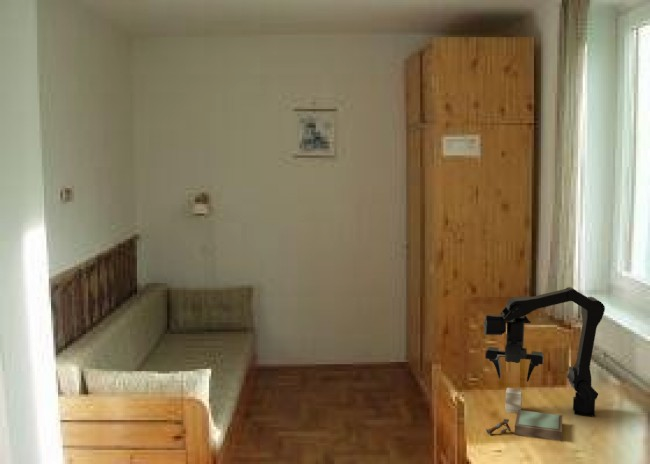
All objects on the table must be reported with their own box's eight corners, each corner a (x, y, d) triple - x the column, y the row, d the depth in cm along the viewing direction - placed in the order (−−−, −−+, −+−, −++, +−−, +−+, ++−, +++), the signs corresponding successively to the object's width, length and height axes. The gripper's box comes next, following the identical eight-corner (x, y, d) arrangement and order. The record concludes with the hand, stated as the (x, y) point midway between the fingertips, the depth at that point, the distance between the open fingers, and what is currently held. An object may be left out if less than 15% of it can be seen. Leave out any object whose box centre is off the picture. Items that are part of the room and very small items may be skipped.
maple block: (521, 408, 237) (522, 389, 236) (520, 414, 232) (521, 394, 232) (506, 407, 239) (507, 387, 238) (505, 412, 234) (505, 392, 233)
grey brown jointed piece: (514, 430, 217) (509, 418, 216) (493, 442, 216) (488, 430, 215) (511, 427, 219) (506, 416, 218) (490, 440, 217) (485, 428, 216)
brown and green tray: (562, 424, 224) (562, 414, 223) (561, 441, 211) (561, 430, 210) (517, 418, 228) (518, 409, 228) (514, 434, 215) (514, 424, 215)
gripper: (483, 338, 228) (482, 384, 229) (542, 344, 221) (540, 390, 223) (488, 330, 238) (486, 373, 240) (544, 335, 231) (542, 380, 233)
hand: (513, 379), depth 234 cm, fingers open, 9 cm apart
